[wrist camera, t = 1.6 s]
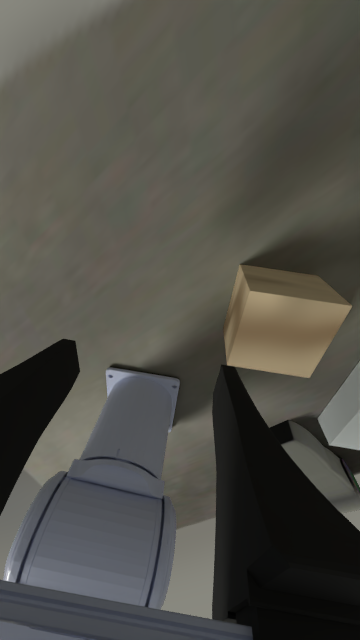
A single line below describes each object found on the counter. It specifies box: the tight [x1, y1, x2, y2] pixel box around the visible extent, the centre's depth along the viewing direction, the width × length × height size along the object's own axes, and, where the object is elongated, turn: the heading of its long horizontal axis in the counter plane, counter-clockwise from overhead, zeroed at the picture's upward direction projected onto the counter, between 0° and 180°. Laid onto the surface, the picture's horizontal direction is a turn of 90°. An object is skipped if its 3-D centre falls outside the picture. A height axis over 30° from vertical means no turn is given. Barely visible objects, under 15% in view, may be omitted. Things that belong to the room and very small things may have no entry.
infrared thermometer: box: [269, 420, 360, 514], centre depth 30 cm, size 5×12×15 cm
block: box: [223, 264, 352, 378], centre depth 17 cm, size 6×6×5 cm
